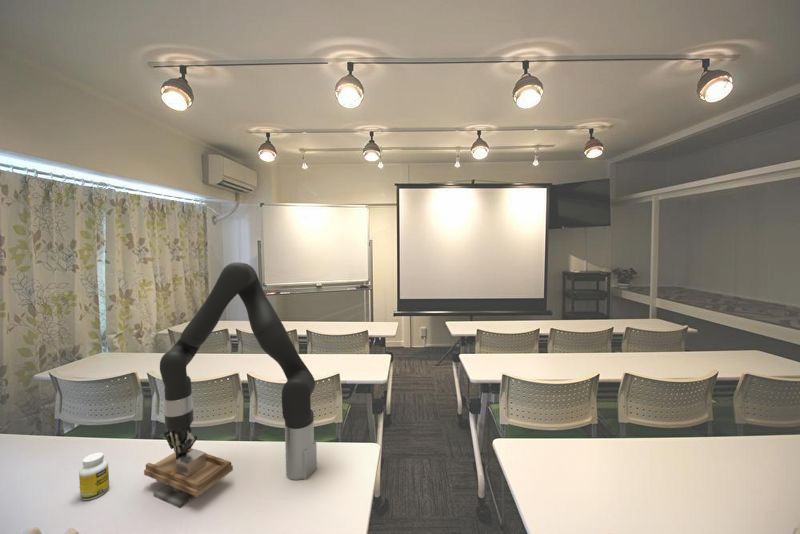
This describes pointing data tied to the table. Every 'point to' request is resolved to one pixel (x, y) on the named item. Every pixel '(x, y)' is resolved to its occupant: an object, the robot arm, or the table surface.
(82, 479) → the pill bottle
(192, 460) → the block
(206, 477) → the wooden tray
